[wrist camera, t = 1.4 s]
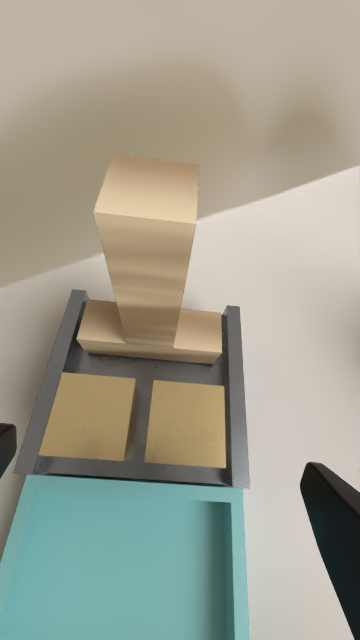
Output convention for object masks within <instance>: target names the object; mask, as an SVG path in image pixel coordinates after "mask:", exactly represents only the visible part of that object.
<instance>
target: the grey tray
mask: <svg viewBox="0 0 360 640" xmlns="http://www.w3.org/2000/svg"><path fill="white" fill-rule="evenodd" d="M88 299H89V297H88V295H87V293H86V291H82V290H72V293H71V296H70V299H69V302H68V305H67V308H66V311H65V314H64V317H63V320H62V323H61V327H60V330H59V333H58V336H57V339H56V342H55V345H54V348H53V351H52V354H51V357H50V360H49V364H48V367H47V370H46V373H45V376H44V379H43V382H42V385H41V388H40V391H39V394H38V398H37V401H36V404H35V407H34V410H33V413H32V416H31V419H30V422H29V425H28V428H27V431H26V435H25V438H24V441H23V444H22V447H21V450H20V453H19V456H18V459H17V462H16V465H15V469H14V472H13V473H18V474H37V473H42V472H45V473H60V474H75V475H90V476H105V477H121V478H136V479H151V480H166V481H181V482H197V483H212V484H226V485H228V486H230V487H233V488H247V489H250V478H249V461H248V444H247V427H246V409H245V392H244V375H243V358H242V341H241V323H240V307H238V306H228V305H227V307H226V309H225V311H224V313H223V315H221V326H222V353H221V355H220V356H219V358H218V359H217V360H216V362H215V363H214V364H206V363H195V362H184V361H172V360H161V359H150V358H139V357H128V356H117V355H106V354H95V353H86V352H85V351H84V349H83V348H82V346H81V345H80V343H79V342H78V340H77V335H78V332H79V328H80V325H81V321H82V318H83V314H84V310H85V307H86V303H87V300H88ZM62 372H65V373H77V374H89V375H100V376H112V377H124V378H135V379H136V382H137V386H138V390H139V400H138V408H137V415H136V422H135V429H134V437H133V444H132V451H131V459H129V460H125V461H115V460H100V459H86V458H71V457H57V456H42V455H38V454H39V451H40V447H41V444H42V440H43V437H44V434H45V430H46V427H47V423H48V420H49V416H50V413H51V410H52V406H53V403H54V399H55V396H56V392H57V389H58V386H59V382H60V379H61V375H62ZM154 380H159V381H171V382H182V383H194V384H205V385H217V386H224V398H225V447H226V468H217V467H202V466H188V465H173V464H159V463H145V462H144V460H145V451H146V443H147V434H148V425H149V416H150V407H151V399H152V390H153V381H154Z"/></svg>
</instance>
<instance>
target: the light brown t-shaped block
mask: <svg viewBox="0 0 360 640" xmlns="http://www.w3.org/2000/svg"><path fill="white" fill-rule="evenodd" d="M198 172H199V165H198V164H189V163H183V162H175V161H167V160H160V159H152V158H144V157H137V156H129V155H121V154H114V153H113V155H112V158H111V161H110V164H109V168H108V170H107V173H106V176H105V179H104V183H103V185H102V188H101V191H100V194H99V197H98V200H97V203H96V206H95V209H94V216H95V220H96V223H97V227H98V231H99V235H100V239H101V243H102V247H103V251H104V255H105V259H106V263H107V267H108V271H109V275H110V279H111V283H112V287H113V291H114V294H115V298H116V302H109V301H99V300H89V299H88V300H87V303H86V307H85V310H84V314H83V318H82V321H81V325H80V328H79V332H78V335H77V340H78V342H79V343H80V345H81V346H82V348H83V349H84V351H85V352H86V353H95V354H106V355H117V356H128V357H139V358H150V359H161V360H172V361H184V362H195V363H206V364H214V363H215V362H216V360H217V359H218V358H219V356H220V355H221V353H222V326H221V313H218V312H208V311H198V310H188V309H181V304H182V298H183V293H184V287H185V282H186V277H187V271H188V266H189V260H190V255H191V249H192V244H193V239H194V233H195V228H196V215H197V194H198V174H199V173H198Z"/></svg>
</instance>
